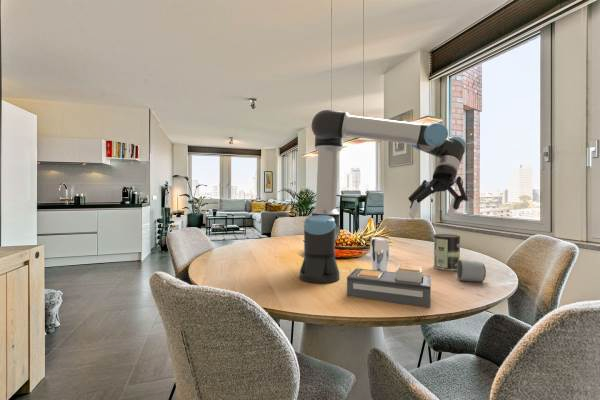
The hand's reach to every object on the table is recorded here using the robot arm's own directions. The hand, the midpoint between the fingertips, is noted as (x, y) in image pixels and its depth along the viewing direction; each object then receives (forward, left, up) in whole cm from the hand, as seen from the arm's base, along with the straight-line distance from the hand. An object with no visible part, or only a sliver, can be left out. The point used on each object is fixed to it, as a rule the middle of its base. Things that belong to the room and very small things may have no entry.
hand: (429, 216), depth 103 cm
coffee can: (+7, +34, -25) cm, 42 cm away
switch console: (-11, -13, -24) cm, 30 cm away
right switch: (-5, -13, -18) cm, 23 cm away
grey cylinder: (+14, +17, -25) cm, 33 cm away
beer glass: (-17, +6, -25) cm, 31 cm away
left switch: (-17, -13, -21) cm, 31 cm away
